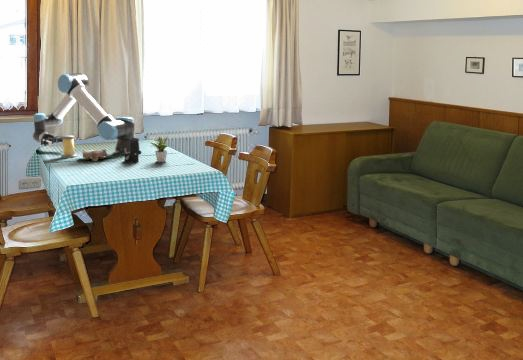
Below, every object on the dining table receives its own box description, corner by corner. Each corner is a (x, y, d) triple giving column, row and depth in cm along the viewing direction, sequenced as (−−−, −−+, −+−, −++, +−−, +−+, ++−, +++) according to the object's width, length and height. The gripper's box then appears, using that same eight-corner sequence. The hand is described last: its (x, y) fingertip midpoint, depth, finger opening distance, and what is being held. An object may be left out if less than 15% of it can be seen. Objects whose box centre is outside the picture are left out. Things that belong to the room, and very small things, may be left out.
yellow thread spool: (76, 155, 409) (75, 135, 406) (76, 157, 400) (75, 137, 397) (61, 156, 406) (60, 135, 403) (61, 158, 398) (60, 137, 395)
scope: (123, 138, 388) (139, 137, 391) (124, 160, 391) (140, 159, 394) (124, 140, 380) (141, 139, 383) (125, 163, 383) (142, 162, 386)
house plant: (162, 157, 400) (161, 131, 397) (178, 160, 392) (177, 133, 389) (145, 161, 389) (144, 134, 385) (162, 163, 381) (161, 136, 378)
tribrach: (105, 156, 404) (105, 149, 403) (107, 160, 391) (106, 152, 390) (82, 157, 400) (82, 150, 399) (83, 161, 387) (83, 154, 386)
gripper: (65, 142, 433) (79, 146, 418) (29, 146, 417) (42, 150, 401) (64, 131, 431) (79, 135, 416) (28, 134, 415) (42, 138, 400)
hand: (61, 142), depth 409 cm, fingers open, 13 cm apart
